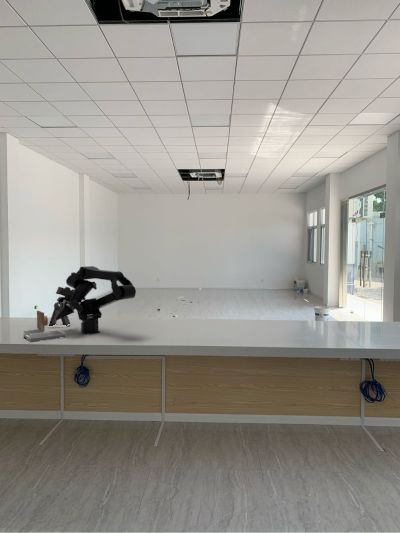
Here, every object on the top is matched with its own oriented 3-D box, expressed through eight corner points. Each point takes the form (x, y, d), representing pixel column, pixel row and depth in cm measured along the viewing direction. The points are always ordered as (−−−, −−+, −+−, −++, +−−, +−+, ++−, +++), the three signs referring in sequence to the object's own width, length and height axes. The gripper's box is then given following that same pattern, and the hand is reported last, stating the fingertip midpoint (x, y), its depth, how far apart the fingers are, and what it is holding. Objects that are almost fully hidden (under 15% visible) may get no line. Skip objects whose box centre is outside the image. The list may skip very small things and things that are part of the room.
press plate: (43, 327, 171) (43, 310, 171) (49, 330, 165) (49, 312, 164) (37, 328, 169) (36, 310, 169) (42, 331, 163) (42, 313, 163)
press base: (57, 333, 176) (57, 326, 176) (65, 337, 167) (65, 330, 167) (23, 337, 168) (23, 330, 168) (30, 342, 159) (30, 334, 159)
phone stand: (70, 325, 195) (70, 300, 195) (67, 327, 189) (66, 302, 189) (52, 325, 195) (51, 301, 194) (48, 327, 189) (47, 302, 188)
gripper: (60, 279, 180) (36, 305, 174) (75, 281, 165) (48, 309, 159) (78, 294, 185) (54, 321, 179) (93, 298, 170) (68, 327, 164)
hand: (56, 319), depth 170 cm, fingers closed
